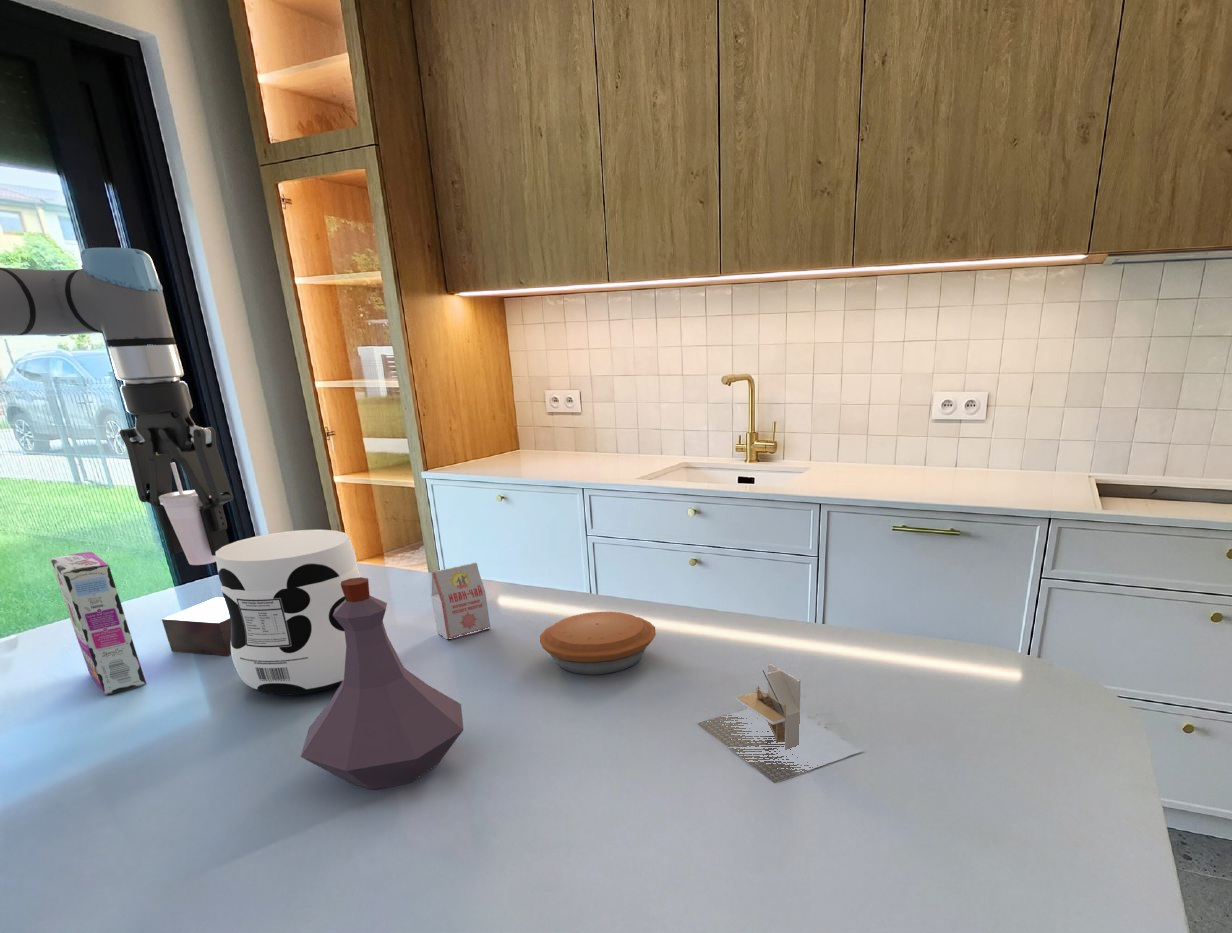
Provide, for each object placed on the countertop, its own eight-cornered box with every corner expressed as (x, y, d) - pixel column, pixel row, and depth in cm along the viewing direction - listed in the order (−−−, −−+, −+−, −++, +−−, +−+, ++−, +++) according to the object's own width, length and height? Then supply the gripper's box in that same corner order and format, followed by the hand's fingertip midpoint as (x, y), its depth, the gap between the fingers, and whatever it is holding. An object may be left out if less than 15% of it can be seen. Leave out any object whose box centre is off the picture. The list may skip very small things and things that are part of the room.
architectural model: (773, 754, 82) (774, 689, 79) (737, 727, 87) (736, 666, 84) (800, 745, 83) (801, 681, 80) (762, 719, 89) (763, 659, 86)
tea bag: (437, 634, 118) (426, 569, 114) (479, 623, 121) (470, 560, 118) (447, 640, 115) (436, 574, 111) (490, 629, 119) (481, 565, 115)
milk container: (367, 643, 115) (342, 521, 108) (400, 681, 102) (374, 545, 95) (234, 673, 106) (197, 542, 99) (251, 720, 93) (210, 573, 86)
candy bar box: (150, 684, 104) (110, 564, 97) (104, 697, 100) (60, 573, 94) (131, 662, 111) (92, 549, 105) (88, 673, 108) (46, 556, 101)
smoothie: (167, 566, 111) (136, 465, 105) (203, 554, 117) (176, 458, 111) (204, 568, 109) (176, 466, 104) (239, 556, 115) (213, 458, 110)
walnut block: (171, 651, 115) (161, 619, 113) (225, 627, 123) (216, 596, 121) (227, 656, 112) (218, 623, 110) (278, 631, 121) (270, 600, 119)
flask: (287, 763, 83) (238, 582, 75) (436, 714, 93) (406, 548, 85) (337, 831, 72) (285, 624, 64) (501, 767, 81) (474, 580, 73)
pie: (524, 679, 101) (520, 643, 99) (564, 635, 115) (560, 603, 113) (641, 685, 99) (639, 647, 97) (667, 639, 113) (665, 606, 111)
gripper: (235, 377, 104) (277, 547, 113) (120, 380, 109) (169, 543, 118) (188, 381, 98) (236, 562, 107) (68, 384, 102) (124, 556, 111)
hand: (201, 551), depth 112 cm, fingers closed on smoothie, 6 cm apart
